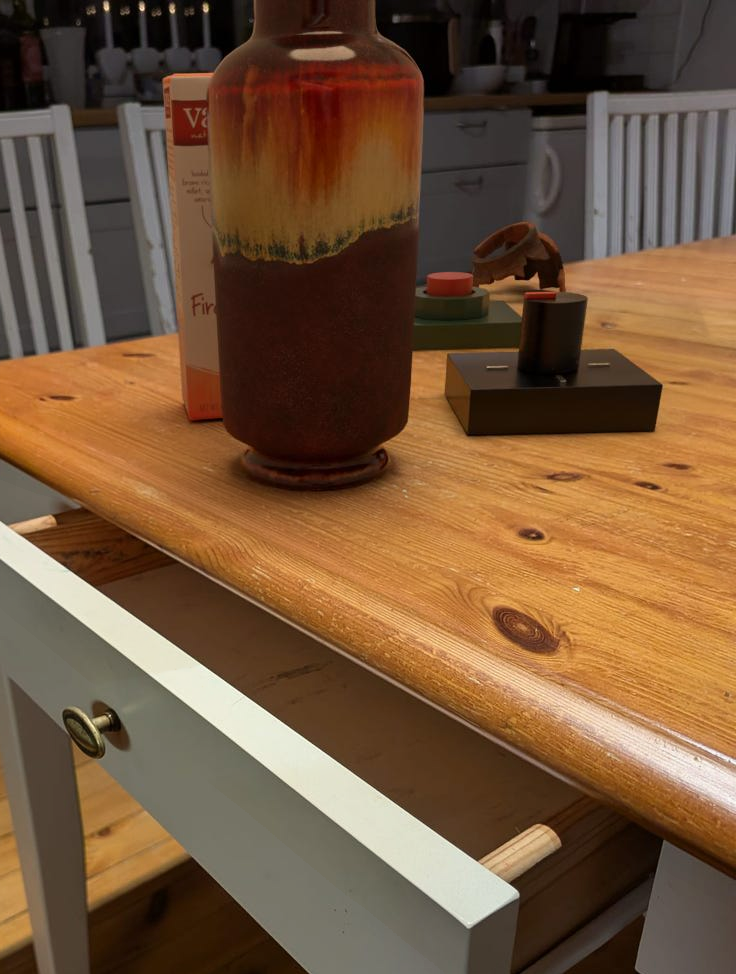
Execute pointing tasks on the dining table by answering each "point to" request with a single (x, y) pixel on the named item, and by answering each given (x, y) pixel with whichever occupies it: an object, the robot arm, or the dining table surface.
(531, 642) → the dining table surface
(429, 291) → the button
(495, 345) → the block
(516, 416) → the dial console
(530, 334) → the browning dial
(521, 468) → the dining table surface
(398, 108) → the vase
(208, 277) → the cracker box
